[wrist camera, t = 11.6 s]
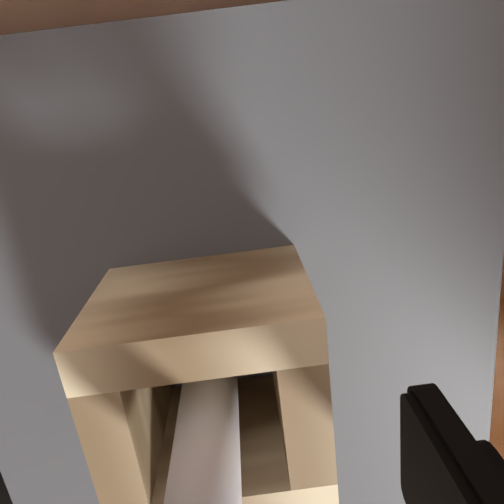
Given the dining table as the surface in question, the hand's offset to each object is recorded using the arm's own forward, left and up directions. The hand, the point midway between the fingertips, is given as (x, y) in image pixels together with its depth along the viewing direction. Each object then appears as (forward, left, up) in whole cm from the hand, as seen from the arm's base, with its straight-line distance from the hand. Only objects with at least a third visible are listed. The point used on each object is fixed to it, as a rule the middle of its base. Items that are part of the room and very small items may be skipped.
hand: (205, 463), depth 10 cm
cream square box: (0, 0, -6) cm, 6 cm away
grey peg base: (0, 0, -7) cm, 7 cm away
